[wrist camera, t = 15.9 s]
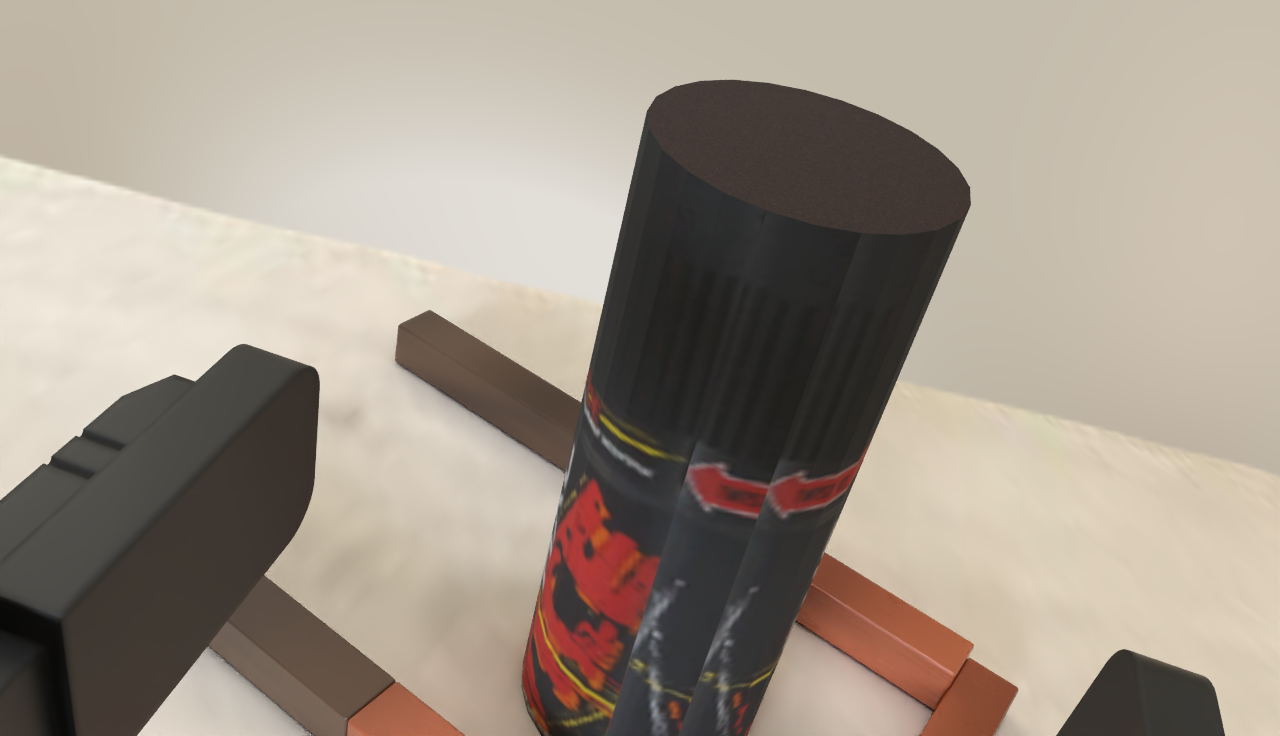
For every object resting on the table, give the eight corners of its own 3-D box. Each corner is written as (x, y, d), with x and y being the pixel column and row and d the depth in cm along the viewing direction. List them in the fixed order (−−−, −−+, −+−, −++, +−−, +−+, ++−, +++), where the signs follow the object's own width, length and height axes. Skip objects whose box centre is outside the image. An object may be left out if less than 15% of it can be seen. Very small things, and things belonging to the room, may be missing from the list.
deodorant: (777, 787, 27) (1027, 251, 18) (531, 793, 26) (681, 213, 17) (723, 599, 32) (903, 101, 23) (513, 595, 30) (622, 62, 22)
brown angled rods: (69, 528, 29) (64, 485, 28) (425, 344, 38) (429, 308, 38) (777, 1132, 21) (801, 1097, 20) (1005, 711, 30) (1028, 675, 30)
